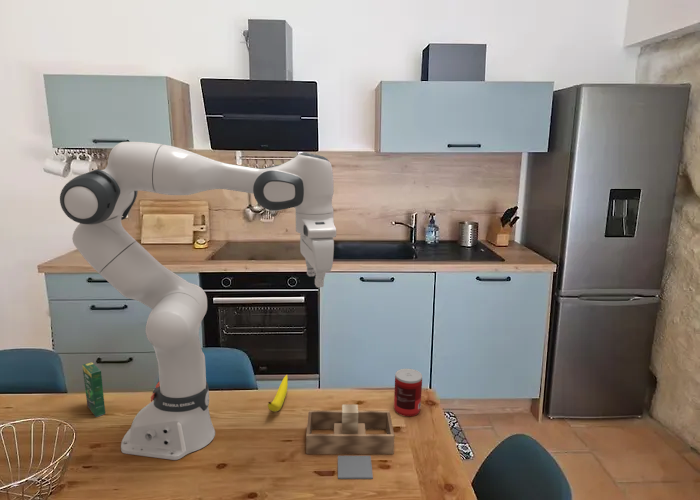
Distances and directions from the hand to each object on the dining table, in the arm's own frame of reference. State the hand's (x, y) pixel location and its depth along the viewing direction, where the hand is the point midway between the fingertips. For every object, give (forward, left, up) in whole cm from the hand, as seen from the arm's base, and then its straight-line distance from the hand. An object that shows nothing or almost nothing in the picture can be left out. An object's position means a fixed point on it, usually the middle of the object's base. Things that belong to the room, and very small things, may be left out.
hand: (315, 280), depth 120 cm
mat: (+10, -12, -43) cm, 45 cm away
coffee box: (-62, +13, -43) cm, 76 cm away
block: (+9, -1, -40) cm, 41 cm away
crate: (+9, -1, -43) cm, 43 cm away
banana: (-11, +16, -43) cm, 47 cm away
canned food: (+26, +14, -43) cm, 52 cm away
